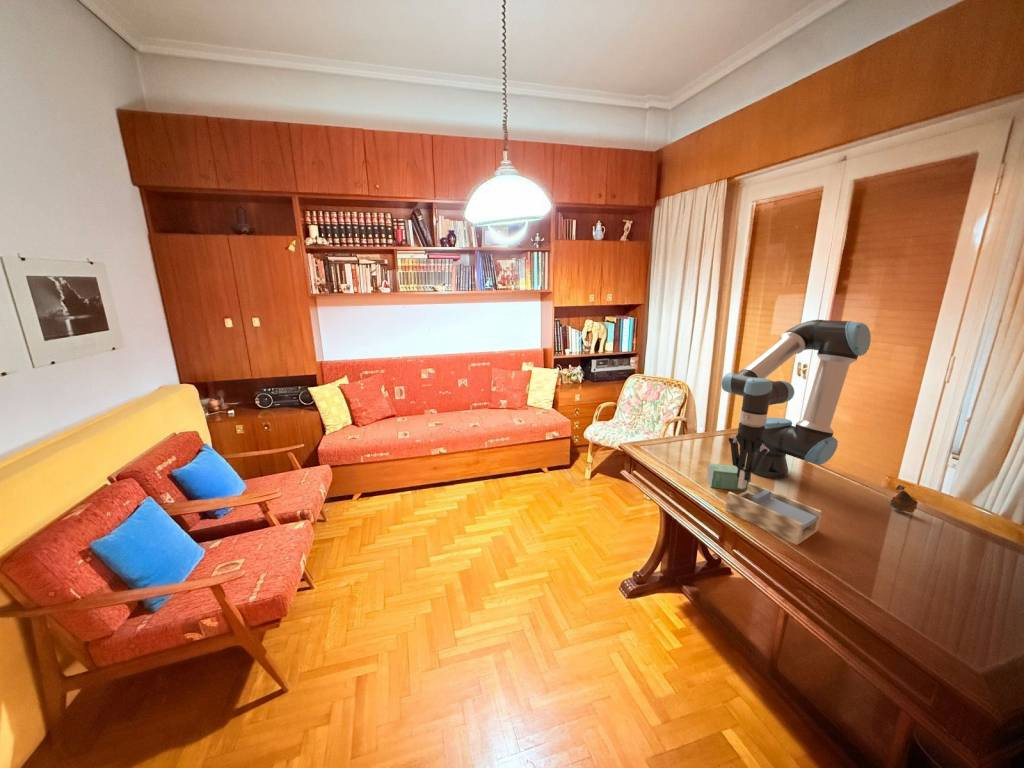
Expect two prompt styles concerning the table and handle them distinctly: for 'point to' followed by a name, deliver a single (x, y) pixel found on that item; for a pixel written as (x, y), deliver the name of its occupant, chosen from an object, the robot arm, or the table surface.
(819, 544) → the table surface
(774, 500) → the cover plate
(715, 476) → the box
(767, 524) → the case
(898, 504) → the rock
